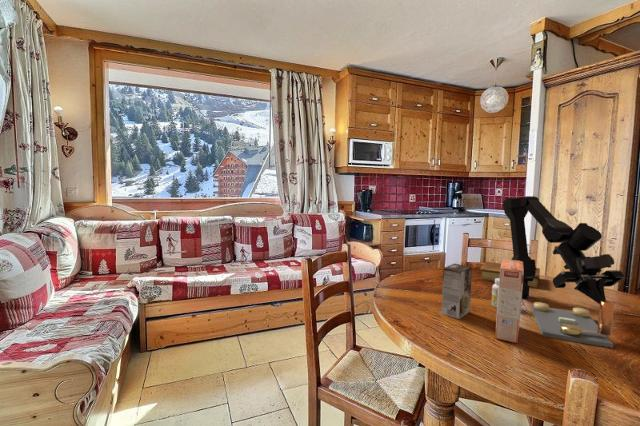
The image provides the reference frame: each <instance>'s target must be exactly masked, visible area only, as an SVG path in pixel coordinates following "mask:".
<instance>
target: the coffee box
mask: <svg viewBox="0 0 640 426" xmlns="http://www.w3.org/2000/svg"><path fill="white" fill-rule="evenodd" d="M472 268H473V267H472V266H467V265H464V264H459V263H452V264H450V265H447V266H445V267H443V273H442V298H441V315H445V316H448V317H451V318H453V319H458V320H460V319H462V318H463V317H464V316H466V315H467V314H468V313H470V312H471V295H472V294H471V293H472V273H473V272H472V270H473V269H472Z"/></svg>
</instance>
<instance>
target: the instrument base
mask: <svg viewBox="0 0 640 426" xmlns="http://www.w3.org/2000/svg"><path fill="white" fill-rule="evenodd" d="M530 307H531V308H530V309H531V311H532V313H533V316H534V319H535V321H536V323H537V326H538V328H539V331H540V332H541V336H542V337H546V338H552V339H557V340H562V341H569V342H573V343H580V344H585V345H590V346H591V345H592V346H597V347H602V346H604V347H603V348H608V347H610V348H609V349H614V343H613V342H612V340H610V338H609V337H608V335H606V337H601V336H593V335H585V334H582V335H581V336H572V335H568V334H565V333H563V332H561V331H560V325H561V324H571V325H575V326H577V327H580V328H581V329H583V330H591V331H597V330H598V323H596V321H594V319H593V318H592V317H591V316H590V310H589V309H585V308H582V307H573V308H572V310H567V309H560V308H553V307H550V305H549V304H548V303H544V302H539V301H535V302H533V305H532V304H531V306H530Z"/></svg>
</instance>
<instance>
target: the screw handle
mask: <svg viewBox="0 0 640 426" xmlns="http://www.w3.org/2000/svg"><path fill="white" fill-rule="evenodd" d="M614 309H615V303H614V302H613V301H610V300H606V301H605V300H601V301H600V304H599V311H598V319H597V321H598V322H597V325H598V330H597V331H591V330H583V329H581V328H580V327H577V326H575V325H571V324H561V325H560V331H561V332H563V333H565V334H568V335H572V336H581V335H582V334H585V335H593V336H601V337H606V336H607V337H608V336H612V332H613V323H614Z"/></svg>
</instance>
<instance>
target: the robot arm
mask: <svg viewBox="0 0 640 426" xmlns="http://www.w3.org/2000/svg"><path fill="white" fill-rule="evenodd" d="M502 207H503V212H504V215H505V216H506V217H507V219H509V221H510V222H509V223H510V224H509V225H510V234H511V242H512V244H511V245H512V254H513V256H512V258H511V259H510V260H516V261H522V262H523V270H524V275H523V289H522V299H526V300H527V299H529V296H530V286H529V284H528V281H531V282H533V279H534V276H535V274H536V270H537V269H536V268H537V267H536V260H535V259H533V258H531V257H530V256H529V251H528V250H529V249H528V243H527V242H528V241H527V234H526V224H525V223H526V222H525V218H526V216H527V215H528V213H529V214H530V215H531V216H532V217H533V219H535V221H536V222H537V223H538V224H539V225H540V226H541V229H542V230H541V233H542V235H543V236H544V239H545V240H546V241H547V242H548V243H550V244H551V243H552V244H556V243H557V244H559V245H556V246H554V249H553V251H552V255H559V256H560V257H561V259H562V261H563V262H564V264H565V265H563V268H564V269H565V270H568V271H561V272H559V273H558V274H557V275H555V277H553V278H552V284H553V286H554V288H555V289H564V288H566V286H567V284H566V283H575V287H573V289H574V290H575V291H578V292H580V293H581V294H583V295H585V296H587V297H588V298H590V299H591V300H593V301H594V302H596V304H598V305H600V301H601V300H605V301H607V298H606V294H605V287H606V288H607V287H613V286H616V285H617V284H618V283H619V282H620V281H622V280H623V279H626V277H625V275H624V274H623V272H622V271H621V270H619V269H618V270H617V269H612V270H609V269H610V268H612V266H613V265H614V264H615V259H614V258H613V257H612V255H611V254H609V253H604V254H599V256H598V255H596V256H587V255H585V253H584V252H585V251H588V250H589V249H591V248H592V247H593V246H594V245H595V244H596V243H598V242H599V241H601V240H602V236H603V235H602V233H601V231H600V230H598V229H596V228H595V227H593V226H590V225H589V224H588V223H587V222H579V223H578V224H577V226H576V227H575V228H574V229H573V227H571V226H570V225H569V224H567V223H566V222H565V221H562V220H559V219H557V218H556V217H555V216H554V215H553V214H552V213H551V212H550V210H548V209H547V208H546V207H545V205H544V204H543V203H542V202H541V201H540V198H539V197H537V196H536V195H535V196H534V195H533V196H532V195H530V196H529V195H527V196H522V197H506V198H505V200H503V202H502ZM605 268H608V269H607V270H605V271H604V272H602V269H605ZM600 272H602V273H600ZM598 273H600V274H598Z"/></svg>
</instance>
